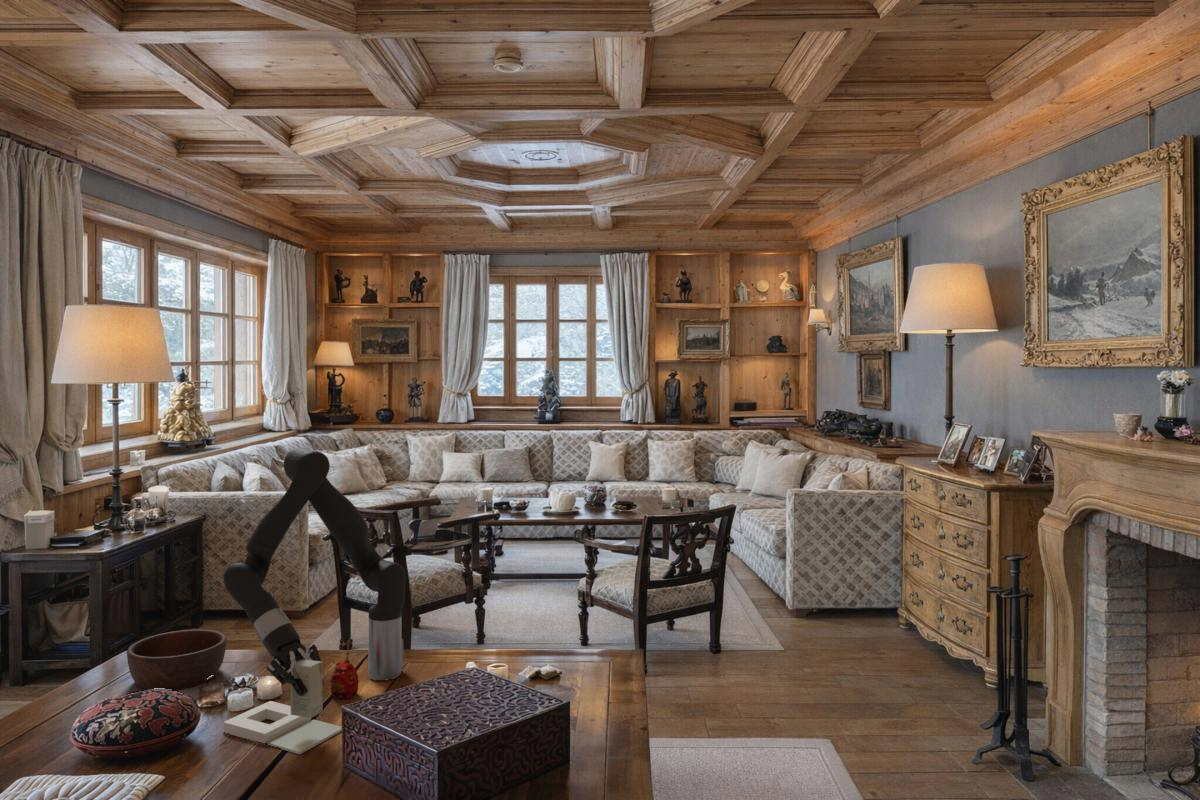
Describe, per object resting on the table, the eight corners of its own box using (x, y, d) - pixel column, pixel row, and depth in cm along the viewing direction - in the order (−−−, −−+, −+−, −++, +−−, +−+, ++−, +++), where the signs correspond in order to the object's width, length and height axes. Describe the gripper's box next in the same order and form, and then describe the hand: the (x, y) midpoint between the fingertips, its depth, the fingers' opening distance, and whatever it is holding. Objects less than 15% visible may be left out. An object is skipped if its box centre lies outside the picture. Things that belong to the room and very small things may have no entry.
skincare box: (323, 712, 184) (324, 661, 184) (310, 719, 180) (311, 667, 180) (301, 707, 187) (302, 657, 187) (288, 714, 183) (289, 663, 182)
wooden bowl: (157, 703, 202) (157, 664, 202) (108, 683, 215) (108, 646, 215) (244, 673, 224) (244, 638, 223) (195, 657, 237) (195, 623, 237)
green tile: (313, 721, 192) (313, 719, 192) (344, 729, 188) (344, 727, 188) (268, 745, 179) (268, 742, 179) (299, 754, 175) (299, 751, 175)
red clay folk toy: (324, 698, 206) (324, 643, 206) (340, 688, 213) (340, 635, 213) (349, 702, 204) (349, 646, 204) (364, 692, 211) (364, 637, 211)
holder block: (270, 710, 199) (270, 700, 198) (310, 721, 193) (310, 711, 193) (223, 732, 186) (223, 722, 186) (264, 744, 180) (264, 733, 180)
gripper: (260, 631, 180) (297, 691, 175) (307, 615, 193) (343, 671, 188) (243, 649, 182) (280, 710, 177) (291, 632, 195) (326, 689, 190)
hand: (312, 690), depth 183 cm, fingers closed on skincare box, 4 cm apart
